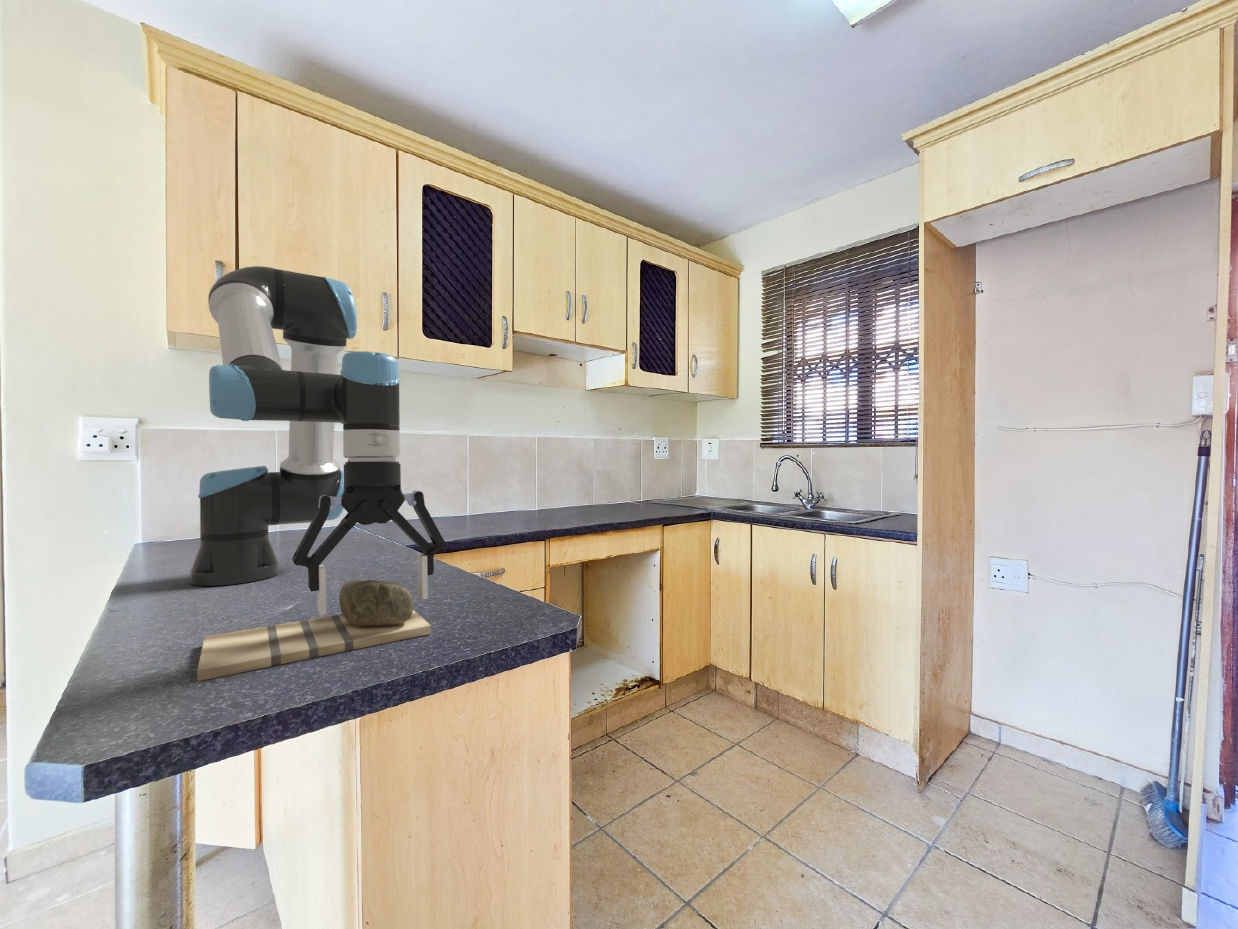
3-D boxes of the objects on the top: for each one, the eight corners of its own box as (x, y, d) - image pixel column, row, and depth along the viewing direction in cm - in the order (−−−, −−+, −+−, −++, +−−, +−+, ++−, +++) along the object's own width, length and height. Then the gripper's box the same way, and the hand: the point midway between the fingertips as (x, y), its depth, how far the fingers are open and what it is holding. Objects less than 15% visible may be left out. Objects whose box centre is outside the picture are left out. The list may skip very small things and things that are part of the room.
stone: (354, 631, 68) (340, 560, 71) (343, 654, 78) (330, 590, 82) (422, 613, 73) (406, 547, 77) (403, 636, 84) (389, 577, 87)
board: (204, 645, 71) (204, 636, 71) (406, 610, 86) (406, 603, 86) (197, 681, 59) (197, 670, 59) (431, 634, 74) (430, 625, 74)
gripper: (271, 461, 66) (274, 628, 66) (465, 459, 80) (467, 596, 81) (268, 461, 72) (272, 614, 72) (449, 459, 87) (451, 586, 87)
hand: (375, 605), depth 77 cm, fingers open, 13 cm apart
